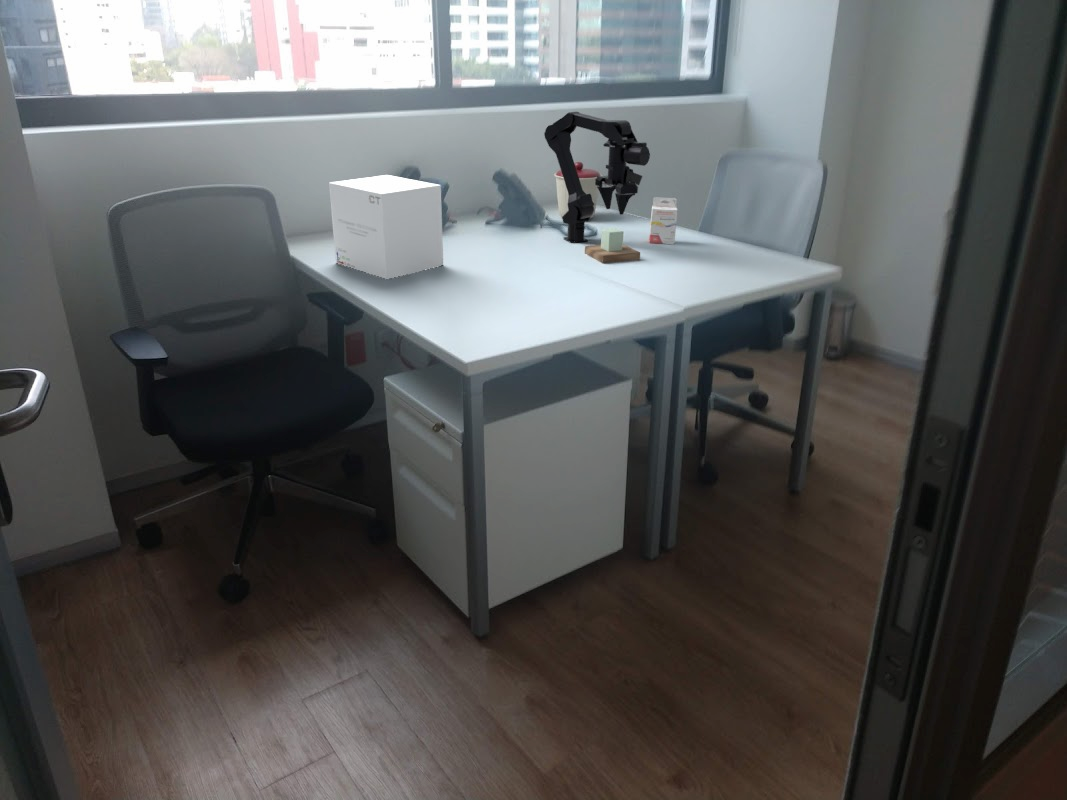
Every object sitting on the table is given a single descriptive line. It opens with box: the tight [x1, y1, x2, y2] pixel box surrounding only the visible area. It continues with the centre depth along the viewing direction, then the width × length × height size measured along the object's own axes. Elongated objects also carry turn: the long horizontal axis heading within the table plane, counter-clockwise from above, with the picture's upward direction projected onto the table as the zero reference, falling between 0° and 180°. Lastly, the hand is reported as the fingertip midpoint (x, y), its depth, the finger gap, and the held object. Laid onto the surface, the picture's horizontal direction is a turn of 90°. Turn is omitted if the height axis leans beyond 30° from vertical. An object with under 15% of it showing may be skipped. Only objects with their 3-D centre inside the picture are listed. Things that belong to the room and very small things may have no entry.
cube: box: [328, 174, 444, 280], centre depth 240 cm, size 25×21×24 cm
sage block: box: [600, 227, 624, 252], centre depth 256 cm, size 5×5×6 cm
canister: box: [553, 161, 603, 220], centre depth 307 cm, size 18×18×21 cm
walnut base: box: [584, 243, 641, 264], centre depth 258 cm, size 13×13×3 cm
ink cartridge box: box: [648, 197, 678, 245], centre depth 274 cm, size 9×5×15 cm, turn 84°
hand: (614, 211), depth 263 cm, fingers open, 9 cm apart
